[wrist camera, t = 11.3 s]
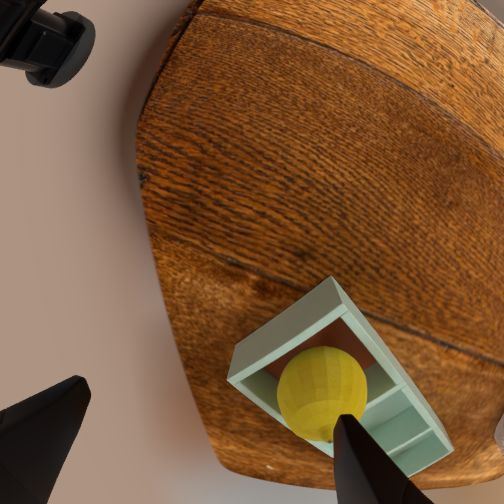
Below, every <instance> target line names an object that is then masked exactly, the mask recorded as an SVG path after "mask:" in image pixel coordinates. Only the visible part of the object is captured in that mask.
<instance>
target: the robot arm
mask: <svg viewBox="0 0 504 504" xmlns="http://www.w3.org/2000/svg"><path fill="white" fill-rule="evenodd" d="M46 1H47V0H0V66H5V67H11V68H15V69H21V70H25V71H26V72H28V73H29V74H30V75H31V76H33V77H34V78H35V79H36V80H37V81H39V82H40V83H41V84H42V85H44V86H48V85H50V83H51V82H52V80H53V78H54V77H55V75H56V73H57V72H58V70H59V68H60V67H61V65H62V64H63V62H64V60H65V59H66V57H67V56H68V54H69V53H70V51H71V50H72V48H73V47H74V46H75V44H76V43H77V41H78V40H79V39H80V37H81V36H82V34H83V33H84V32H85V30H86V25H84V24H82V23H80V22H78V21H75V20H73V19H71V18H69V17H67V16H64V15H62V14H60V13H57V12H55V13H53V14H51V13H49V12H47V11H45V10H42V9H40V7H41V6H42V5H43V4H44V3H45V2H46ZM81 28H82V29H81ZM90 399H91V391H90V389H89V386H88V384H87V381H86V379H85V378H84V377H81V376H78V375H74V376H72V377H70V378H68V379H66V380H64V381H62V382H60V383H58V384H56V385H54V386H52V387H50V388H48V389H46V390H44V391H42V392H39V393H37V394H35V395H33V396H31V397H29V398H27V399H25V400H23V401H21V402H19V403H16V404H14V405H12V406H10V407H8V408H6V409H4V410H2V411H0V504H47V502H48V499H49V497H50V494H51V492H52V490H53V487H54V485H55V482H56V479H57V477H58V475H59V473H60V470H61V468H62V466H63V464H64V462H65V459H66V457H67V455H68V453H69V451H70V449H71V446H72V444H73V442H74V440H75V438H76V436H77V434H78V431H79V429H80V427H81V424H82V421H83V418H84V416H85V413H86V410H87V407H88V404H89V402H90ZM333 455H334V478H335V485H336V492H337V499H338V504H434V503H433V502H432V501H431V500H430V499H429V498H427V497H426V496H425V495H424V494H423V493H422V492H421V491H420V490H419V489H418V488H417V487H416V486H415V485H414V484H413V482H412V481H411V480H409V478H408V477H407V476H406V475H405V474H404V473H403V472H402V470H401V469H400V468H399V467H398V466H397V465H396V464H395V463H394V461H393V460H392V459H391V458H390V457H389V456H388V455H387V454H386V452H385V451H384V450H383V449H382V448H381V447H380V446H379V444H378V443H377V442H376V441H375V440H374V439H373V438H372V436H371V435H370V434H369V433H368V432H367V431H366V429H365V428H364V427H363V426H362V425H361V424H360V423H359V421H358V420H357V419H356V418H355V417H354V416H353V415H352V414H341V415H340V416H339V417H338V420H337V422H336V425H335V427H334V430H333Z"/></svg>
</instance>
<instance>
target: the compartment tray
mask: <svg viewBox="0 0 504 504" xmlns="http://www.w3.org/2000/svg"><path fill="white" fill-rule="evenodd" d="M319 346H328V347H335V348H337V349H340V350H342V351H345V352H346V353H348V354H349V355H350V356H352V357H353V358H354V359H355V360H356V361H357V362H358V363H359V365H360V367H361V368H362V370H363V372H364V374H365V376H366V382H367V402H366V407H365V411H364V414H363V416H362V417H361V419H360V421H359V423H360V424H361V425H362V426H363V427H364V428H365V429H366V431H367V432H368V433H369V434H370V435H371V436H372V438H373V439H374V440H375V441H376V442H377V443H378V444H379V446H380V447H381V448H382V449H383V450H384V451H385V452H386V454H387V455H388V456H389V457H390V458H391V459H392V460H393V461H394V463H395V464H396V465H397V466H398V467H399V468H400V469H401V470H402V472H403V473H404V474H405V475H406V476H407V477H410V476H412V475H414V474H416V473H418V472H420V471H421V470H423V469H425V468H427V467H428V466H430V465H432V464H434V463H435V462H437V461H439V460H440V459H442V458H444V457H445V456H447V455H448V454H450V453H451V452H453V451H454V447H453V445H452V443H451V441H450V439H449V436H448V434H447V432H446V430H445V428H444V426H443V424H442V423H441V421H440V420H439V418H438V417H437V415H436V414H435V412H434V411H433V409H432V408H431V407H430V405H429V404H428V402H427V401H426V399H425V398H424V397H423V395H422V394H421V392H420V391H419V389H418V388H417V387H416V385H415V384H414V382H413V381H412V380H411V378H410V377H409V376H408V374H407V373H406V371H405V370H404V369H403V367H402V366H401V365H400V363H399V362H398V360H397V359H396V358H395V356H394V355H393V354H392V352H391V351H390V350H389V348H388V347H387V346H386V344H385V343H384V342H383V340H382V339H381V338H380V336H379V335H378V334H377V333H376V331H375V330H374V329H373V327H372V326H371V325H370V323H369V322H368V321H367V320H366V318H365V317H364V316H363V314H362V313H361V312H360V311H359V309H358V308H357V307H356V306H355V304H354V303H353V302H352V301H351V299H350V298H349V297H348V295H347V294H346V293H345V292H344V290H343V289H342V288H341V287H340V286H339V284H338V283H337V282H336V281H335V279H334V278H333V277H332V276H329V277H328V278H327V279H325V280H324V281H323V282H321V283H320V284H319V285H318V286H316V287H315V288H314V289H312V290H311V291H310V292H308V293H307V294H306V295H304V296H303V297H302V298H300V299H299V300H298V301H296V302H295V303H294V304H292V305H291V306H289V307H288V308H287V309H285V310H284V311H283V312H281V313H280V314H278V315H277V316H276V317H274V318H273V319H271V320H270V321H269V322H267V323H266V324H264V325H263V326H262V327H260V328H259V329H257V330H256V331H254V332H253V333H252V334H250V335H249V336H247V337H246V338H244V339H243V340H241V341H240V342H238V343H237V344H236V345H235V349H234V352H233V356H232V360H231V364H230V368H229V372H228V376H227V381H228V382H229V383H231V384H232V385H233V386H234V387H235V388H237V389H238V390H239V391H240V392H241V393H243V394H244V395H245V396H246V397H248V398H249V399H250V400H251V401H253V402H254V403H255V404H257V405H258V406H259V407H260V408H262V409H263V410H264V411H266V412H267V413H268V414H270V415H271V416H272V417H274V418H275V419H276V420H278V421H279V422H280V423H282V424H283V425H285V426H286V427H287V428H289V427H288V425H287V424H286V422H285V421H284V419H283V416H282V414H281V411H280V408H279V405H278V400H277V387H278V384H279V381H280V377H281V374H282V372H283V370H284V368H285V367H286V366H287V364H288V363H289V362H290V361H291V360H292V359H293V358H294V357H295V356H296V355H298V354H299V353H301V352H302V351H304V350H307V349H310V348H313V347H319ZM289 429H290V428H289ZM290 430H291V429H290ZM305 440H306V439H305ZM307 441H308V442H309V443H311V444H312V445H314V446H315V447H317V448H318V449H320V450H321V451H323V452H324V453H326V454H328V455H329V456H331V457H332V458H334V455H333V443H331V444H329V443H326V442H324V441H311V440H307Z"/></svg>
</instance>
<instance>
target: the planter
mask: <svg viewBox="0 0 504 504" xmlns="http://www.w3.org/2000/svg"><path fill="white" fill-rule="evenodd" d="M494 438H495V441H496V443H497V444H498V446H499V448H500V450H501V452H502V454H503V456H504V412H503V414H502V417H501V419H500V421H499V423H498V425H497V427H496V430H495V433H494Z"/></svg>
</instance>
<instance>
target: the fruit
mask: <svg viewBox="0 0 504 504" xmlns="http://www.w3.org/2000/svg"><path fill="white" fill-rule="evenodd" d="M277 400H278V405H279V408H280V411H281V414H282V416H283V419H284V421H285V422H286V424H287V425H288V427H289V428H290V429H291V430H292V431H293V432H294V433H295V434H296V435H297V436H299V437H301V438H303V439H306V440H311V441H324V442H326V443H329V444H331V443H333V430H334V427H335V425H336V422H337V420H338V417H339V416H340V415H341V414H352V415H353V416H354V417H355V418H356V419H357V420H358V421H360V419H361V417H362V416H363V414H364V411H365V407H366V402H367V382H366V376H365V374H364V372H363V370H362V368H361V367H360V365H359V363H358V362H357V361H356V360H355V359H354V358H353V357H352V356H350V355H349V354H348V353H346V352H345V351H342V350H340V349H337V348H335V347H328V346H319V347H313V348H310V349H307V350H304V351H302V352H301V353H299V354H298V355H296V356H295V357H294V358H293V359H292V360H291V361H290V362H289V363H288V364H287V366H286V367H285V368H284V370H283V372H282V374H281V377H280V381H279V384H278V387H277Z"/></svg>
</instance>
